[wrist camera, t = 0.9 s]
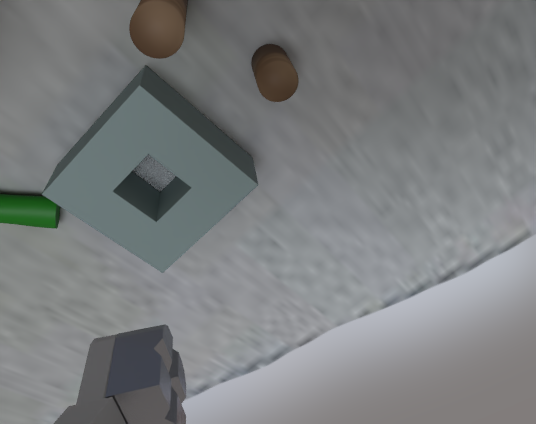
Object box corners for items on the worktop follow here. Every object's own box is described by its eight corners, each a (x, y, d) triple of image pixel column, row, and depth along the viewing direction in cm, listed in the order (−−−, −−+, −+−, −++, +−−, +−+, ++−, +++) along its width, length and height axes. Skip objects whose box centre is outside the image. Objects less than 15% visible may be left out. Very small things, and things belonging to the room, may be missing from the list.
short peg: (270, 36, 40) (278, 52, 36) (295, 62, 41) (306, 81, 37) (243, 63, 41) (249, 82, 36) (269, 88, 42) (277, 109, 38)
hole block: (145, 65, 40) (139, 85, 36) (252, 158, 45) (258, 185, 41) (56, 165, 43) (41, 194, 39) (165, 240, 49) (162, 272, 45)
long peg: (164, -34, 36) (152, -10, 27) (196, -3, 38) (195, 31, 28) (138, -2, 37) (118, 31, 28) (169, 27, 39) (160, 69, 29)
